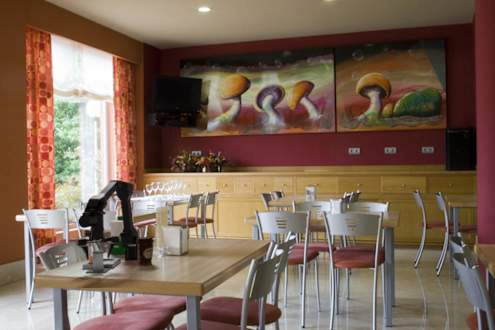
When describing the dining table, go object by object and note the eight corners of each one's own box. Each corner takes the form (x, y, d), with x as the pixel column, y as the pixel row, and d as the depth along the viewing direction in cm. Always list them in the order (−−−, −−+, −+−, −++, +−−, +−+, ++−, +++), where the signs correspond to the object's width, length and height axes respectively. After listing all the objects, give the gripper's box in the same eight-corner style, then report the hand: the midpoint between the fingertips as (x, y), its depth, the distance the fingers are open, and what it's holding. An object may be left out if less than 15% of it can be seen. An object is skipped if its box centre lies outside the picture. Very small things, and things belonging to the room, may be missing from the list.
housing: (120, 262, 270) (120, 258, 270) (112, 268, 254) (112, 264, 254) (92, 262, 270) (92, 258, 270) (82, 269, 254) (82, 264, 254)
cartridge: (105, 270, 248) (104, 251, 248) (94, 271, 245) (94, 252, 245) (102, 268, 252) (101, 250, 252) (91, 269, 249) (90, 251, 249)
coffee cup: (158, 263, 264) (157, 236, 264) (149, 266, 256) (148, 239, 256) (142, 262, 267) (141, 236, 267) (133, 265, 259) (132, 238, 259)
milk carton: (131, 252, 299) (130, 216, 298) (121, 255, 290) (120, 217, 290) (117, 251, 302) (116, 215, 302) (107, 254, 293) (106, 217, 293)
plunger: (98, 263, 259) (97, 254, 259) (96, 265, 256) (95, 256, 256) (90, 264, 259) (90, 254, 259) (88, 265, 256) (88, 256, 256)
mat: (110, 268, 253) (110, 267, 253) (105, 272, 244) (105, 271, 244) (91, 269, 253) (91, 268, 253) (85, 273, 244) (85, 272, 244)
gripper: (112, 222, 260) (113, 254, 260) (72, 225, 251) (73, 259, 251) (119, 224, 250) (120, 258, 250) (77, 227, 241) (78, 262, 241)
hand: (98, 259), depth 248 cm, fingers open, 9 cm apart
